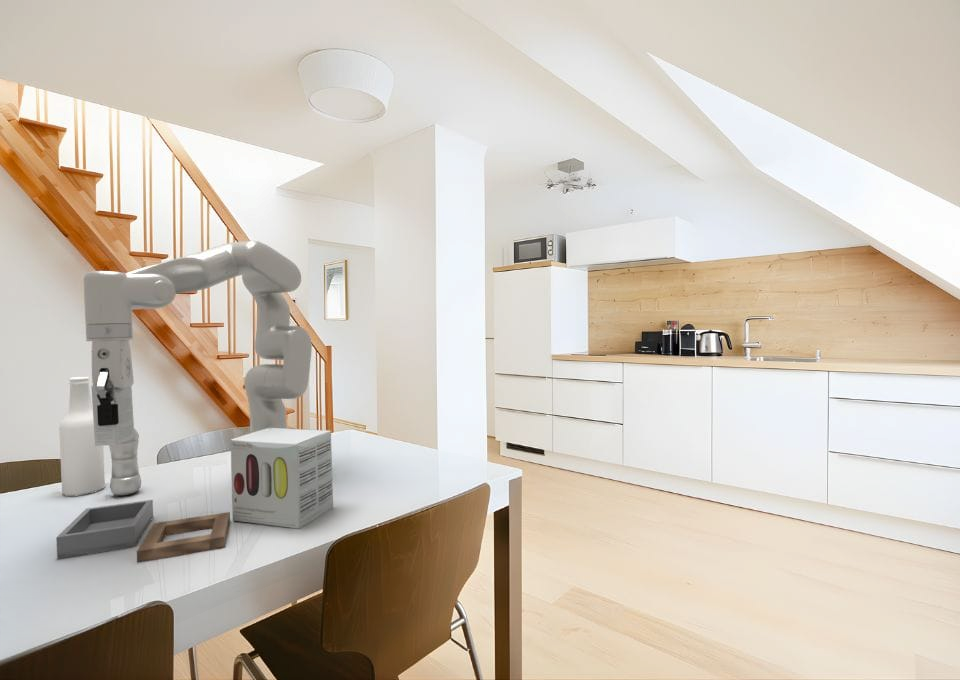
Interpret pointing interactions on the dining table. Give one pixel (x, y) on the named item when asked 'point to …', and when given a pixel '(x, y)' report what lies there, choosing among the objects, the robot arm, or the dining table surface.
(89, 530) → the tray
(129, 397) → the skincare box
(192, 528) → the brown square frame
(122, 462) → the plastic bottle
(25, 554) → the dining table surface
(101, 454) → the alcohol
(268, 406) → the robot arm
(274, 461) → the supplement box
